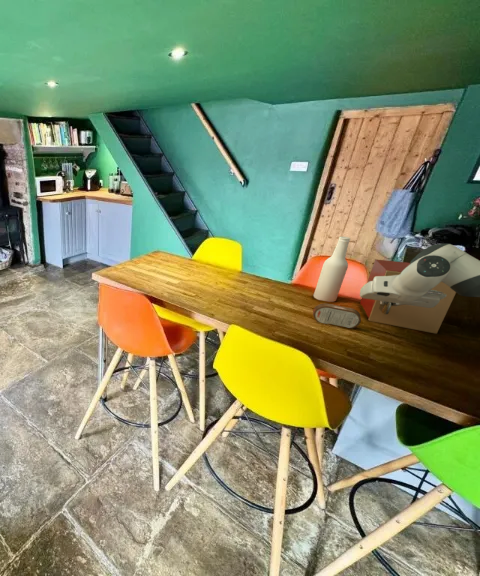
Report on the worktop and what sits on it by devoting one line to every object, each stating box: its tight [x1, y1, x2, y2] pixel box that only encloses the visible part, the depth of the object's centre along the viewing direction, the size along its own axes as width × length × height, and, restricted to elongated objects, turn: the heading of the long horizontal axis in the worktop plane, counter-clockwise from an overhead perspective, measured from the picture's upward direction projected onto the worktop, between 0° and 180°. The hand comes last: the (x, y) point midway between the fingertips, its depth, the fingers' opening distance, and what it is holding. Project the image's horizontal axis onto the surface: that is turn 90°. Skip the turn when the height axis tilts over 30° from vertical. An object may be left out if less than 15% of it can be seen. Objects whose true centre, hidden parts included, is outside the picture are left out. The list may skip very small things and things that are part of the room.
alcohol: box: [313, 236, 351, 303], centre depth 137 cm, size 9×9×30 cm
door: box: [367, 270, 457, 334], centre depth 112 cm, size 6×20×22 cm, turn 61°
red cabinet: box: [359, 259, 410, 320], centre depth 121 cm, size 16×20×22 cm
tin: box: [312, 302, 362, 329], centre depth 118 cm, size 15×3×8 cm, turn 59°
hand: (388, 303), depth 114 cm, fingers closed on door, 2 cm apart
